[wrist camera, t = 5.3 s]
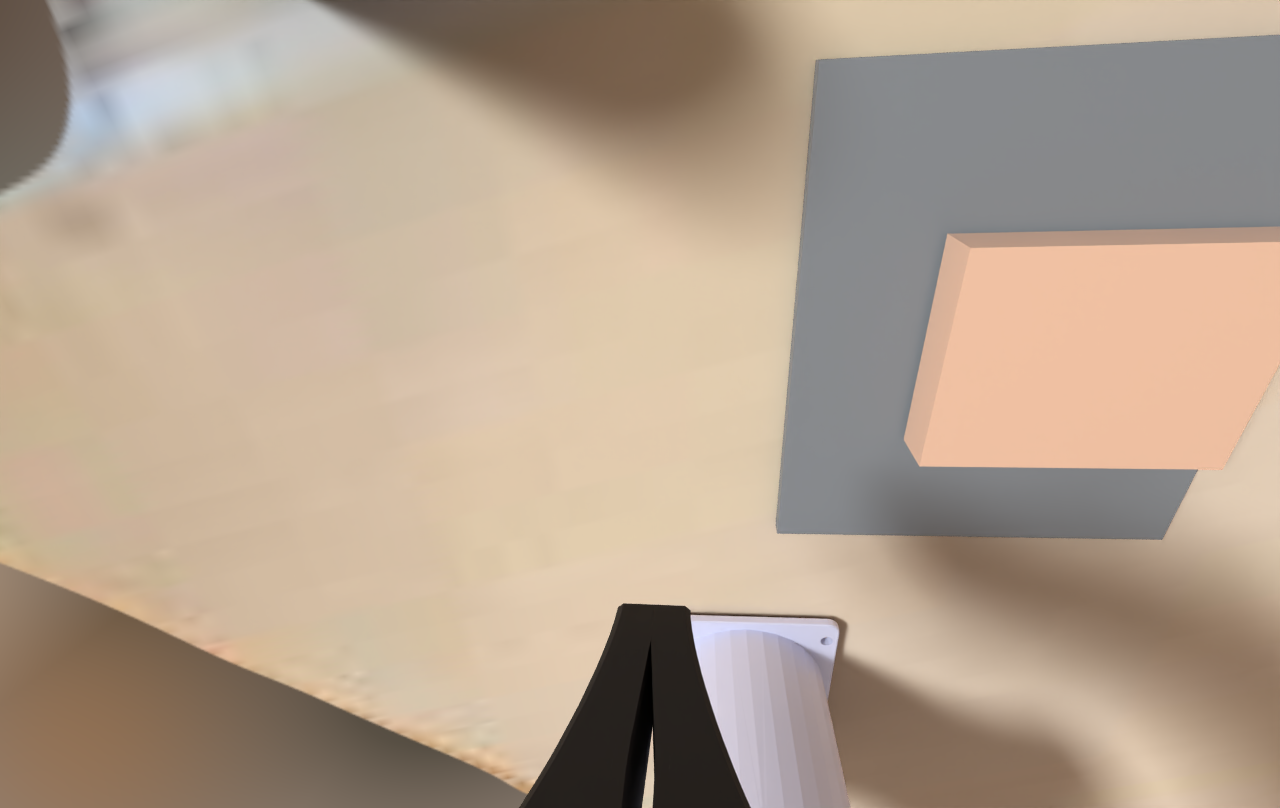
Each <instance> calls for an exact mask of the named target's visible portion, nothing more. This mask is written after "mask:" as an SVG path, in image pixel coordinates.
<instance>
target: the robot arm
mask: <svg viewBox="0 0 1280 808" xmlns="http://www.w3.org/2000/svg"><path fill="white" fill-rule="evenodd" d="M825 637H827V638H825ZM838 639H839V627H838V624H837V623H836V622H835V621H834V620H831V619H817V618H782V617H747V616H712V615H691V613H690V610H689V609H688V608H687V607H685V606H671V605H647V604H622V605H621V606H619V607H618V610H617V613H616V617H615V621H614V624H613V627H612V630H611V633H610V635H609V638H608V641H607V643H606V646H605V648H604V651H603V653H602V656H601V658H600V660H599V663H598V665H597V667H596V670H595V672H594V674H593V676H592V678H591V680H590V682H589V685H588V687H587V689H586V691H585V693H584V695H583V697H582V699H581V702H580V704H579V706H578V707H577V709H576V711H575V713H574V715H573V717H572V719H571V721H570V723H569V724H568V726H567V728H566V730H565V732H564V734H563V735H562V737H561V739H560V741H559V743H558V745H557V747H556V748H555V750H554V752H553V754H552V755H551V757H550V759H549V760H548V762H547V764H546V766H545V767H544V769H543V771H542V772H541V774H540V776H539V777H538V779H537V780H536V782H535V784H534V785H533V787H532V788H531V790H530V792H529V793H528V795H527V796H526V798H525V799H524V801H523V803H522V804H521V806H520V807H519V808H642V801H643V794H644V787H645V779H646V772H647V764H648V757H649V749H650V742H651V734H652V727H653V749H654V795H653V808H851V807H850V802H849V798H848V793H847V789H846V784H845V779H844V775H843V770H842V766H841V761H840V756H839V752H838V747H837V743H836V738H835V734H834V729H833V724H832V720H831V715H830V711H829V706H828V696H829V690H830V684H831V679H832V673H833V667H834V662H835V656H836V650H837V644H838Z"/></svg>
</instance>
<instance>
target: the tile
mask: <svg viewBox="0 0 1280 808" xmlns="http://www.w3.org/2000/svg"><path fill="white" fill-rule="evenodd" d="M1279 364H1280V226H1279V227H1232V228H1186V229H1139V230H1093V231H1047V232H1000V233H954V234H947V238H946V243H945V247H944V252H943V257H942V261H941V266H940V271H939V275H938V280H937V285H936V290H935V294H934V299H933V304H932V308H931V313H930V318H929V322H928V327H927V332H926V337H925V341H924V346H923V351H922V355H921V360H920V365H919V370H918V374H917V379H916V384H915V388H914V393H913V398H912V402H911V407H910V412H909V417H908V421H907V426H906V431H905V435H904V441H905V443H906V444H907V446H908V448H909V450H910V451H911V453H912V455H913V456H914V458H915V460H916V462H917V463H918V465H919V466H927V467H1018V468H1108V469H1199V470H1222V469H1223V468H1224V466H1225V464H1226V462H1227V460H1228V458H1229V456H1230V455H1231V453H1232V451H1233V449H1234V447H1235V445H1236V444H1237V442H1238V440H1239V438H1240V436H1241V434H1242V433H1243V431H1244V429H1245V427H1246V425H1247V423H1248V421H1249V420H1250V418H1251V416H1252V414H1253V412H1254V410H1255V409H1256V407H1257V405H1258V403H1259V401H1260V399H1261V397H1262V396H1263V394H1264V392H1265V390H1266V388H1267V386H1268V385H1269V383H1270V381H1271V379H1272V377H1273V375H1274V374H1275V372H1276V370H1277V368H1278V366H1279Z"/></svg>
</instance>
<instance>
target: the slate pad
mask: <svg viewBox="0 0 1280 808" xmlns="http://www.w3.org/2000/svg"><path fill="white" fill-rule="evenodd" d="M1279 226H1280V35H1268V36H1250V37H1231V38H1212V39H1194V40H1175V41H1156V42H1138V43H1119V44H1101V45H1082V46H1063V47H1045V48H1026V49H1008V50H989V51H970V52H952V53H933V54H915V55H896V56H877V57H859V58H840V59H821V60H816V65H815V76H814V88H813V99H812V111H811V123H810V134H809V146H808V157H807V169H806V180H805V192H804V204H803V215H802V227H801V238H800V250H799V262H798V273H797V285H796V296H795V308H794V319H793V331H792V343H791V354H790V366H789V377H788V389H787V400H786V412H785V424H784V435H783V447H782V458H781V470H780V481H779V493H778V505H777V516H776V529H777V533H781V534H843V535H905V536H967V537H1029V538H1091V539H1153V540H1162V539H1163V537H1164V535H1165V533H1166V531H1167V529H1168V527H1169V525H1170V523H1171V521H1172V519H1173V517H1174V515H1175V513H1176V511H1177V509H1178V507H1179V505H1180V503H1181V502H1182V500H1183V498H1184V496H1185V494H1186V492H1187V490H1188V488H1189V486H1190V484H1191V482H1192V480H1193V478H1194V476H1195V474H1196V472H1197V470H1198V469H1108V468H1018V467H927V466H919V465H918V463H917V462H916V460H915V458H914V456H913V455H912V453H911V451H910V450H909V448H908V446H907V444H906V443H905V441H904V435H905V431H906V426H907V421H908V417H909V412H910V407H911V402H912V398H913V393H914V388H915V384H916V379H917V374H918V370H919V365H920V360H921V355H922V351H923V346H924V341H925V337H926V332H927V327H928V322H929V318H930V313H931V308H932V304H933V299H934V294H935V290H936V285H937V280H938V275H939V271H940V266H941V261H942V257H943V252H944V247H945V243H946V238H947V234H954V233H1000V232H1047V231H1093V230H1139V229H1186V228H1232V227H1279Z"/></svg>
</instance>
